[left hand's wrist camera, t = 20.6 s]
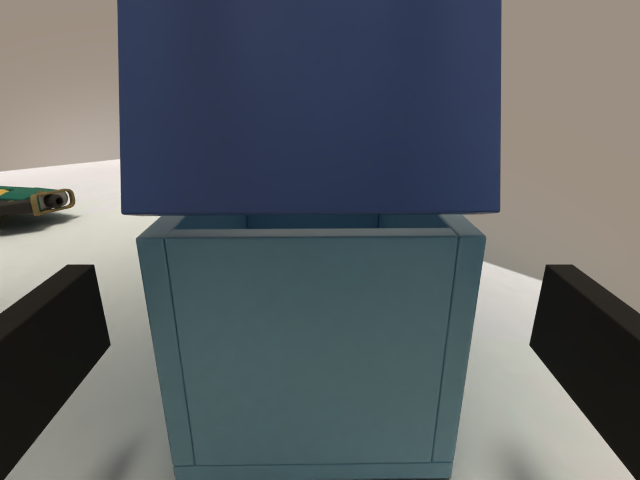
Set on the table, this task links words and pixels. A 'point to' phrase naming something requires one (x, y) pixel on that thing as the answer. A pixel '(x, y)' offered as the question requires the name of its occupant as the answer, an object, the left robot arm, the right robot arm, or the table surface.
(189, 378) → the chest
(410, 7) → the lid
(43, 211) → the spray gun
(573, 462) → the table surface
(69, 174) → the table surface
